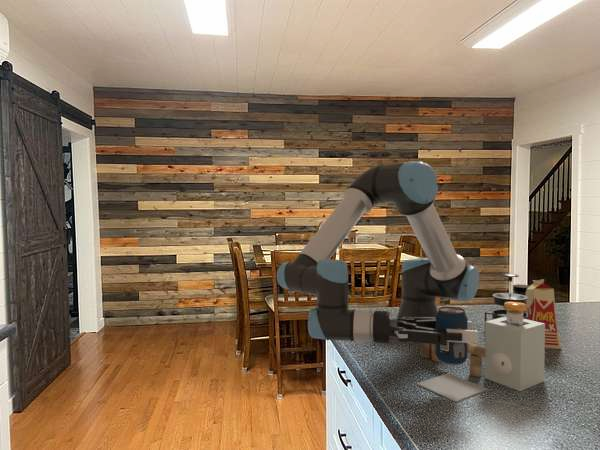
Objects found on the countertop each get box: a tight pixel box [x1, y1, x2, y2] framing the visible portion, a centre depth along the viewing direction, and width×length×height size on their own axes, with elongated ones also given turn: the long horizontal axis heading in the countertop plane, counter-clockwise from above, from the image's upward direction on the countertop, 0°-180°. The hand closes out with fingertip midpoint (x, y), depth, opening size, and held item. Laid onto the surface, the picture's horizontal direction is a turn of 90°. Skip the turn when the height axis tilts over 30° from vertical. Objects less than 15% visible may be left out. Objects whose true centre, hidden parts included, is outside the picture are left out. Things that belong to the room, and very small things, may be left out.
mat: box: [416, 372, 488, 403], centre depth 101 cm, size 11×11×1 cm
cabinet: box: [484, 315, 546, 392], centre depth 104 cm, size 9×12×14 cm
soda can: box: [435, 306, 469, 366], centre depth 100 cm, size 7×7×12 cm
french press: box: [483, 273, 528, 342], centre depth 120 cm, size 12×9×23 cm
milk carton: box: [523, 278, 563, 350], centre depth 131 cm, size 9×9×20 cm
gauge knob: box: [503, 302, 526, 327], centre depth 104 cm, size 5×5×7 cm
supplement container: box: [512, 283, 531, 295], centre depth 167 cm, size 7×7×10 cm
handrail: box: [419, 343, 485, 378], centre depth 114 cm, size 20×4×9 cm, turn 32°
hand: (474, 332), depth 99 cm, fingers closed on soda can, 7 cm apart
